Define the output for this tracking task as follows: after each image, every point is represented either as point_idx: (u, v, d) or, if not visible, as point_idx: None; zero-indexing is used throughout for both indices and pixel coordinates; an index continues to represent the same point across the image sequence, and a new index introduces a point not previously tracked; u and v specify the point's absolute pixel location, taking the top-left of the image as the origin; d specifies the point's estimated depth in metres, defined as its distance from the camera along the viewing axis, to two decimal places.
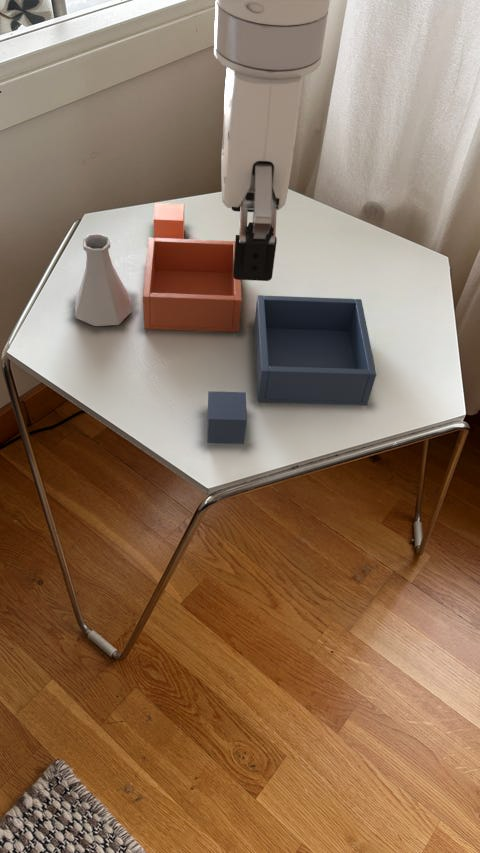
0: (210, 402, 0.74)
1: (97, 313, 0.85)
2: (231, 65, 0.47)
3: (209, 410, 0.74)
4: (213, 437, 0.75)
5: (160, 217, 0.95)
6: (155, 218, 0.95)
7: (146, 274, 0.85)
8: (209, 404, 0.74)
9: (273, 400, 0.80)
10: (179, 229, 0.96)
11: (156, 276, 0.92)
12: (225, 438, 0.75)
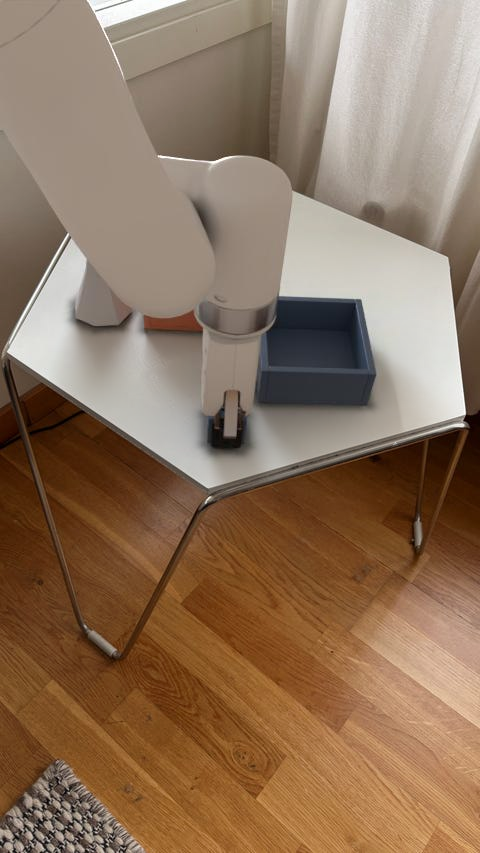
0: None
1: (97, 313, 0.85)
2: (206, 327, 0.62)
3: None
4: None
5: None
6: None
7: None
8: None
9: (273, 400, 0.80)
10: None
11: None
12: None
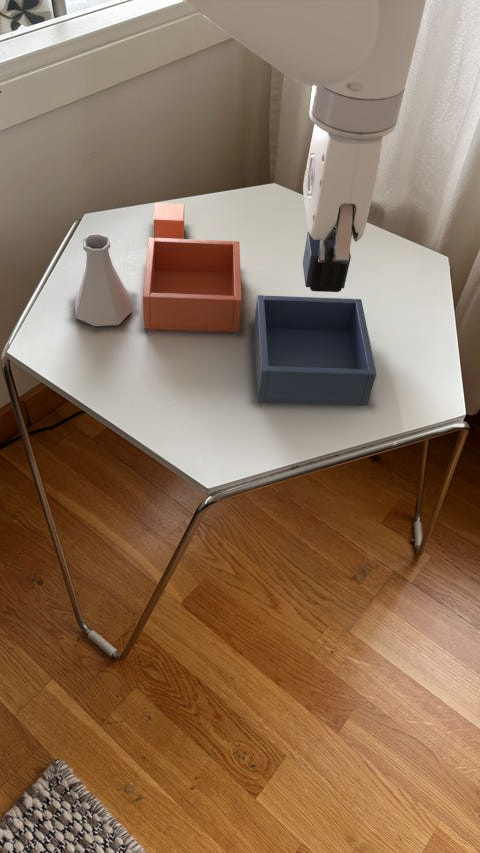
0: (311, 241, 0.71)
1: (97, 313, 0.85)
2: (326, 128, 0.59)
3: (311, 247, 0.70)
4: None
5: (160, 217, 0.95)
6: (155, 218, 0.95)
7: (146, 274, 0.85)
8: (310, 242, 0.71)
9: (273, 400, 0.80)
10: (179, 229, 0.96)
11: (156, 276, 0.92)
12: None
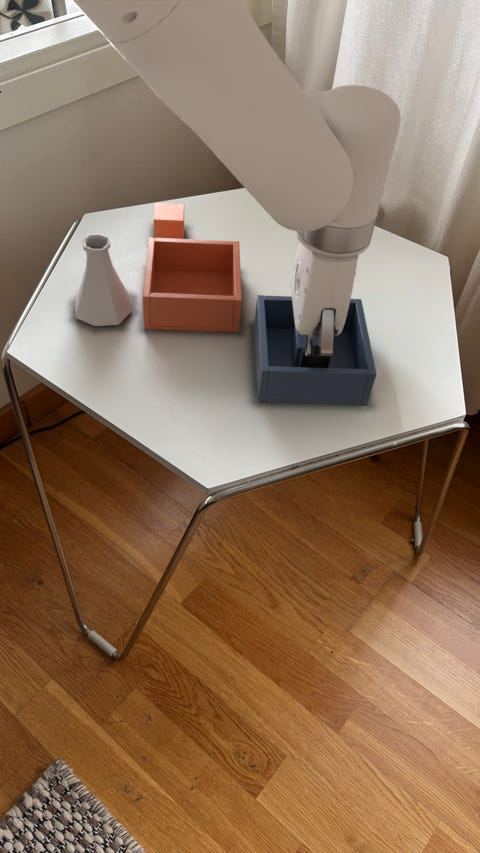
0: (298, 334, 0.81)
1: (97, 313, 0.85)
2: (310, 247, 0.68)
3: (297, 340, 0.80)
4: None
5: (160, 217, 0.95)
6: (155, 218, 0.95)
7: (146, 274, 0.85)
8: (297, 335, 0.81)
9: (273, 400, 0.80)
10: (179, 229, 0.96)
11: (156, 276, 0.92)
12: None
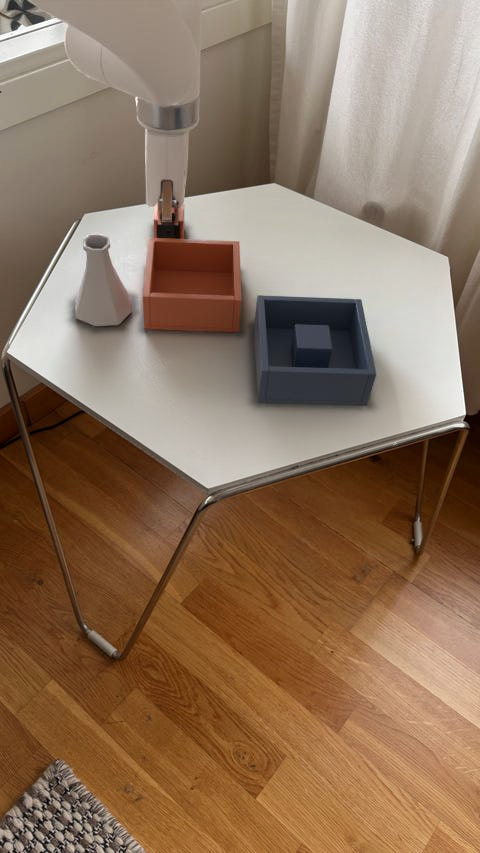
0: (298, 334, 0.81)
1: (97, 313, 0.85)
2: (145, 126, 0.84)
3: (297, 340, 0.80)
4: (300, 366, 0.82)
5: None
6: (155, 218, 0.95)
7: (146, 274, 0.85)
8: (297, 335, 0.81)
9: (273, 400, 0.80)
10: None
11: (156, 276, 0.92)
12: None
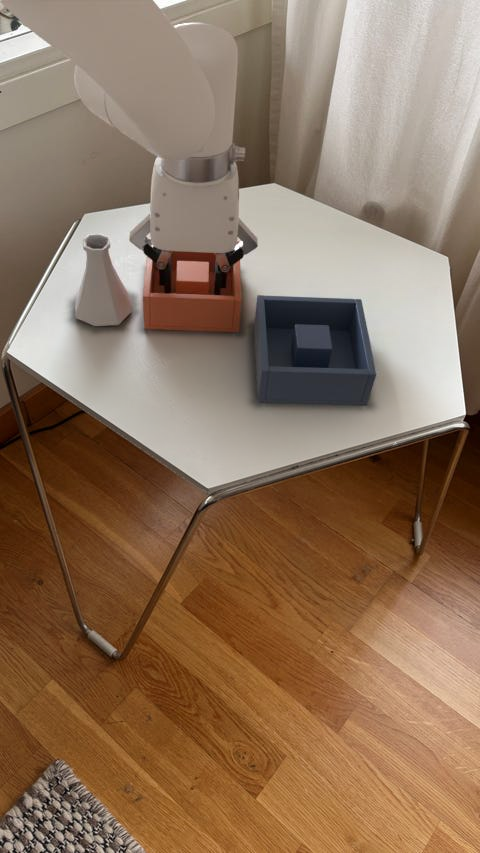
0: (298, 334, 0.81)
1: (97, 313, 0.85)
2: None
3: (297, 340, 0.80)
4: (300, 366, 0.82)
5: (181, 265, 0.88)
6: (179, 261, 0.88)
7: (146, 274, 0.85)
8: (297, 335, 0.81)
9: (273, 400, 0.80)
10: (176, 286, 0.87)
11: (156, 276, 0.92)
12: None
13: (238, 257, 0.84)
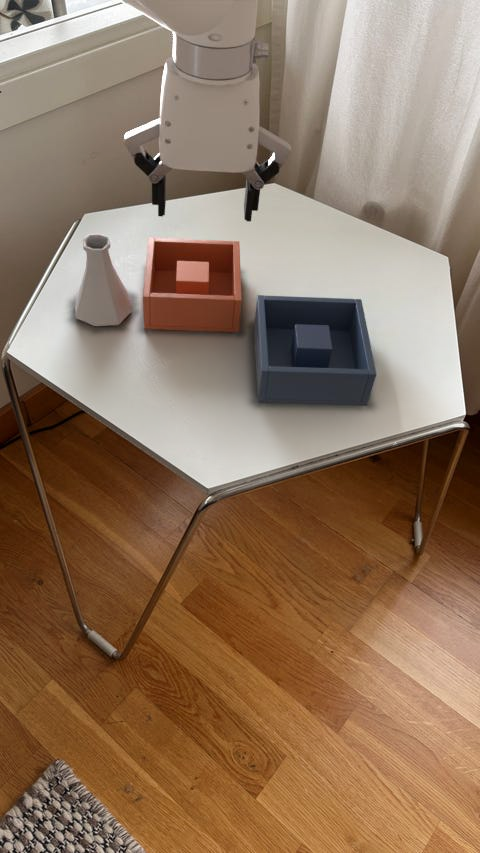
0: (298, 334, 0.81)
1: (97, 313, 0.85)
2: None
3: (297, 340, 0.80)
4: (300, 366, 0.82)
5: (181, 265, 0.88)
6: (179, 261, 0.88)
7: (146, 274, 0.85)
8: (297, 335, 0.81)
9: (273, 400, 0.80)
10: (176, 286, 0.87)
11: (156, 276, 0.92)
12: None
13: (273, 171, 0.75)
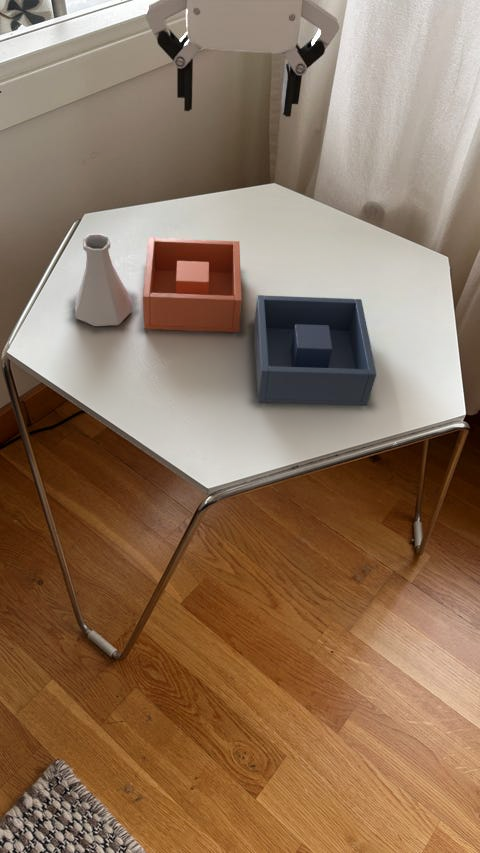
0: (298, 334, 0.81)
1: (97, 313, 0.85)
2: None
3: (297, 340, 0.80)
4: (300, 366, 0.82)
5: (181, 265, 0.88)
6: (179, 261, 0.88)
7: (146, 274, 0.85)
8: (297, 335, 0.81)
9: (273, 400, 0.80)
10: (176, 286, 0.87)
11: (156, 276, 0.92)
12: None
13: (318, 52, 0.65)
